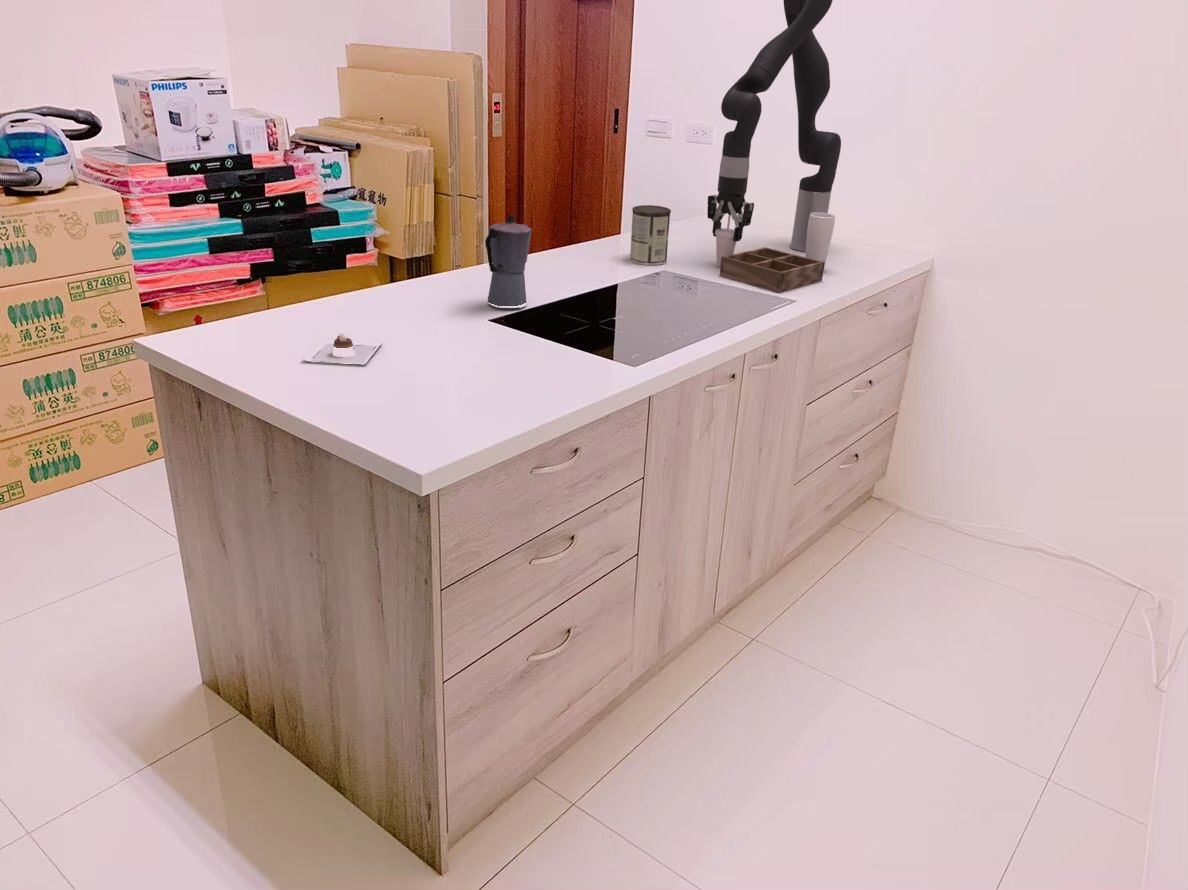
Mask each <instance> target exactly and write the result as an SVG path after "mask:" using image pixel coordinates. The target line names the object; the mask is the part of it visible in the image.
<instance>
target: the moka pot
mask: <svg viewBox="0 0 1188 890" xmlns="http://www.w3.org/2000/svg"><path fill="white" fill-rule="evenodd" d="M515 218H516V217H515V215H512V214H509V215H507V222H503V223H494V224H492V225H490V226H489V227H488V235H487V236H486V238H485V241H484V242H485V248H486V252H487V253H486V255H487V260H488V261H487V262H488V266H489V271H490V272H491V280H490V284H489V285H490V286H489V290H488V294H487V295H488V296H487V303H488V302H489V303H491V304H494V305H497V306H518V305H522V304H524V303H527V292H526V291H527V290H526V280H525V279H526V278H525V271H526V263H527V262H528V255H529V249H530V242H531V236H532V229H533V228H531V227H529V226H528V225H526V224H522V223H521V224H520V223H516V222H514V220H515Z"/></svg>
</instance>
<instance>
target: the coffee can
mask: <svg viewBox="0 0 1188 890" xmlns="http://www.w3.org/2000/svg"><path fill="white" fill-rule="evenodd" d="M631 208H632V209H631V210H632V219H631V232H630V233H631V234H630V236H631V237H630V250H629V251H630V252H629V253H630V254H629V261H630V262H631V263H633V264H636V265H641V266H650V265H654V266H661V265H660V264H662V265H665V264H666V263H667V262H668V261H667V258H668V246H669V245H668V243H669V231H670V219H671V212H672V210H671V209H670V208H669V207H666V206H660V205H652V204H648V205H647V204H646V205H645V204H644V205H636V206H633V207H631ZM664 263H665V264H664Z"/></svg>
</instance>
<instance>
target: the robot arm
mask: <svg viewBox="0 0 1188 890" xmlns="http://www.w3.org/2000/svg"><path fill="white" fill-rule="evenodd" d="M833 2H834V1H833V0H783V9H784V10H783V12H784V15H785V21H786V26H787V27H786V28H785V29H784V30H783V31H781V32H780V33H779V34H778V35H776V36H775V37H773V38H772V39H771V40H769V42H767V44H765V45H764V46H763V47H762V48H761V49H760V50H759V52H758V53H757V55H756V57H755V58H754V60H753V61H752V62H751V64H750V66H749V67H748V69H747V71H746V72H745V73H744V74H743V75H742V76H741V77H739V78H738V80H737V81H735V83H734V84H733V85H732V86H731V87H729V89H727V91H726V93H725V95H724V97H723V98H722V101H721V106H720V109H721V114H722V116H723V117H724V118H726V119H727V120H729V121H735V122H736V125H735V127H734V130H730V131H728V132H726V133H725V134H724V137H723V142H722V143H723V145H722V151H721V159H720V164H719V173H718V181H717V192H718V193H717V194H711V195H708V196H707V213H706V214H707V219H710V220H711V221H712V230H711V231H712V234H713V237H715V238H716V234H715V232H716V229H721V228H722V220H723V218H724V216H725V215H726V214H727V215H728V216H729V215H731V219H732V220H733V222H734V238H733V241H735V242H736V243H737V242H740V241H741V240H742V238H743V233H744V232H743V230H744V227H747V226H750V225H751V222H752V217H753V213H754V208H755V203H754V202H747V201H746V198H745V196H746V193H747V190H748V189H747V188H748V180H749V173H750V154H751V148H752V147H751V146H752V140H753V138H754V134H755V133H756V129H757V127H758V124H759V121H760V118H761V115H762V110H763V109H762V101H761V98H760V97H759V95H757V94H760V93H765V92H767V91H768V90H769V89H770V88H771V87H772V84H773V83H774V82H775V80H776V78H777V77H778V75H779V73H781V70H782V69H783V67H784V66H785V64H786V63H787V61H788V60H789V59H790V57H792V64H793V79H794V88H795V89H794V90H795V96H796V97H795V98H796V106H797V107H796V109H797V120H798V121H797V132H798V133H797V140H798V141H797V143H798V147H797V148H798V156H799V159H800V161H801V162H802V163H804V164H806V165H813V166H819V168H818V171H817V173H815V174H813V175H808V176H805V177H802V178H801V179H800V181H799V187H798V194H797V201H796V208H795V214H794V222H793V227H792V235H791V243H790V248H791V249H793V250H795V251H799V252H805V253H806V240H807V228H808V221H809V216H810V214H811V213H828V214H829V209H830V208H829V207H830V202H831V197H832V196H831V195H832V190H833V189H832V188H833V184H834V181H835V178H836V173H837V168H838V164H839V163H838V162H839V160H840V155H841V150H842V149H841V147H842V139H841V136H840V134H838V133H837V132H831V131H821V130H817V129H816V116H817V113H818V111H819V110H820V108H821V106H822V104H823V103H824V102H825V101H826V98H827V97H828V94H829V92H830V89H831V76H830V64H829V60H828V58H827V55H826V53H825V51H824V50H823V47H822V46H821V44H820V43H819V41H818V39H817V37H816V35H815V33H814V31H813V30H815V28H816V27H817V26H818V24H820V22H821V21H822V20H823V19H824V18H825V16H826V15H827V13H828V12H829V10H830V9H831V7H832V3H833Z"/></svg>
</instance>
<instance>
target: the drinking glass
mask: <svg viewBox="0 0 1188 890" xmlns="http://www.w3.org/2000/svg"><path fill="white" fill-rule="evenodd" d="M835 222H836V215H834V214H832V213H829V212H828V213H811V214H810V216H809V221H808V228H807V240H806V252H805V254H804V257H806V258H810V259H814V260H818V261H822V262H825V263H826V261H827V259H828V258H827V257H828V254H829V253H828V252H829V249H830V246H831V242H832V241H831V240H832V237H833V233H834V229H835ZM825 266H826V264H825V265H824V268H825Z"/></svg>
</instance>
